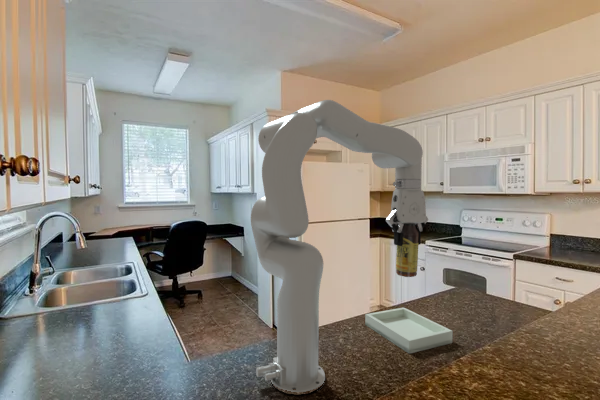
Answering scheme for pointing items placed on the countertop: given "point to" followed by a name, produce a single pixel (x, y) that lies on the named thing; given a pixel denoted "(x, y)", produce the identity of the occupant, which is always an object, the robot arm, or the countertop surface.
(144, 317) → the countertop surface
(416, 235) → the sauce bottle
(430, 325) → the tray
